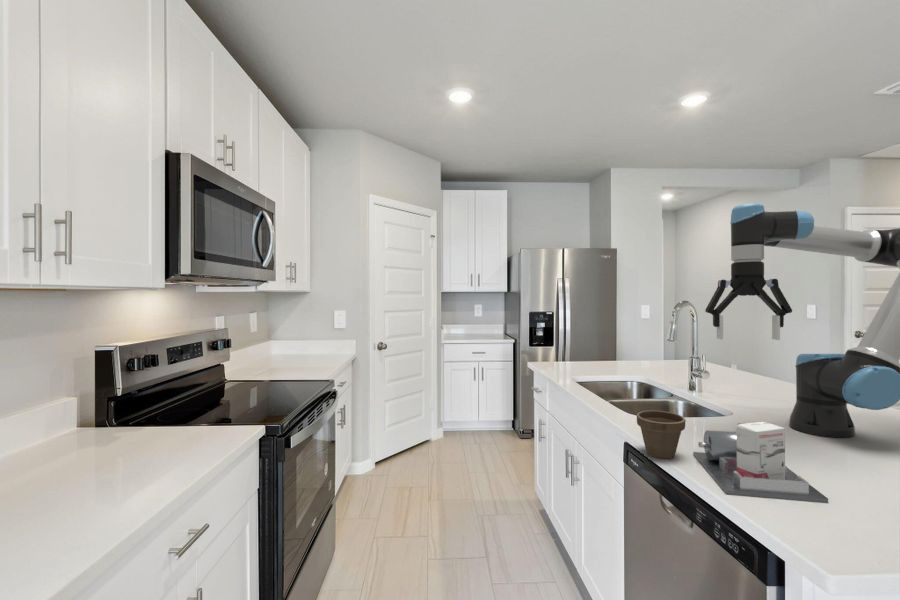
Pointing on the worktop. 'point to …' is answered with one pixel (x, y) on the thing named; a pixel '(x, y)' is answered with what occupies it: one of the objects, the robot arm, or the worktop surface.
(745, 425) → the ink box
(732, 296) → the robot arm
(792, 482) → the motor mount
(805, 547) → the worktop surface
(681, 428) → the flower pot
